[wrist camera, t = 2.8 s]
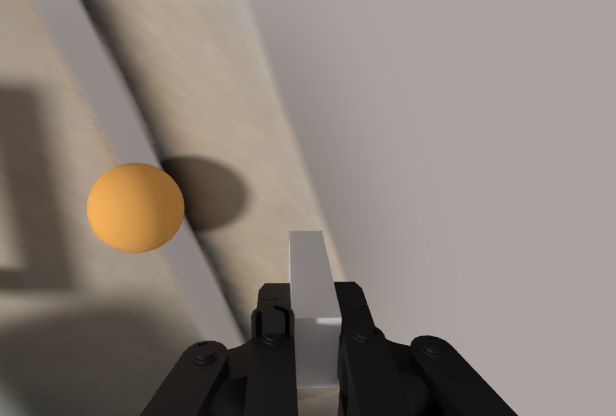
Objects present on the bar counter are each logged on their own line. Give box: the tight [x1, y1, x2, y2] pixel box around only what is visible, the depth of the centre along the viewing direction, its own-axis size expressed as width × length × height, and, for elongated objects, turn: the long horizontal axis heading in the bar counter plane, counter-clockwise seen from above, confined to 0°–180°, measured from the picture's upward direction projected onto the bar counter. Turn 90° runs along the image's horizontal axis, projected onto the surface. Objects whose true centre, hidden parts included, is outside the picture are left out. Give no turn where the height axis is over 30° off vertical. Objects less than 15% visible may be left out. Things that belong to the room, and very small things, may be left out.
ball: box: [87, 163, 184, 253], centre depth 25 cm, size 6×6×6 cm
